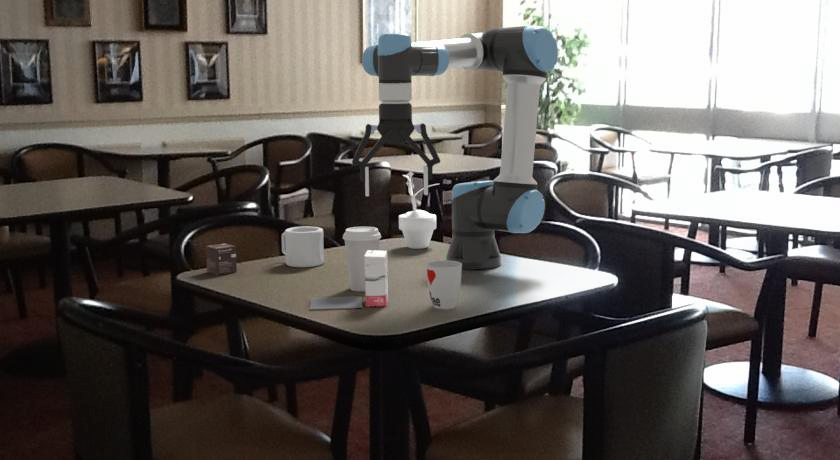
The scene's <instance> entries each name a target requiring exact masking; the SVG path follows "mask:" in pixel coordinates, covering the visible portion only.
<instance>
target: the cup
mask: <svg viewBox="0 0 840 460" xmlns="http://www.w3.org/2000/svg"><path fill="white" fill-rule="evenodd" d="M462 271H463V269H462V263H460V262H457V261H446V260H433V261H429V262H427V263H426V280H427V286H428V288H427V289H428V292H429V293H428V294H429V297H430V300H431V303H432V306H433V309H437V310H451V309H455V308H456V305H457V302H458V298H459V295H460V289H461V283H462Z"/></svg>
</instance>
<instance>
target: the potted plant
mask: <svg viewBox="0 0 840 460" xmlns="http://www.w3.org/2000/svg"><path fill="white" fill-rule="evenodd" d="M413 175H414V172H412V168H411V167H409V172H408V173H406V174H402V176H403V177H404V178H406V179H407V181H406V182H405V184H406V185H407V187H408V189H407V190H408V193H409V195H410V197H411V204H412V210H411V211H407V212H405V213H402V214H399V215H398V229H399V231H402V234H403V238H404V240H405V243H406V246H407V248H408V249H413V250H414V249H416V250H421V249H425V248H428V247H429V246H430V242H431V239H432V236H433V234H434V230H436V229H437V215H436V214H435V213H434V214H433V213H429V211H426V210H422V209H417V202H416V196H417V195H418V193H420V192H421V191H424V187H422V188H421V189H419V190H418V191H417V192H415V193H414V192H413V190H414V188H415V184H414V183H412V177H413ZM437 185H438V186H439V185H440V183H434V184H428V188H430V187H433V186H437Z"/></svg>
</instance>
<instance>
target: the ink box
mask: <svg viewBox="0 0 840 460" xmlns="http://www.w3.org/2000/svg"><path fill="white" fill-rule="evenodd" d="M364 259H365V291H364V294H365V306H366V307H367V308H368V307H369V308H370V307H371V306H372V307H374V306H376V307H387V303H388V299H389V279H388V277H389V275H388V273H389V271H388V269H389V267H388V266H389V265H388V264H389V263H388V250H380V249H379V250H367V252H366V254H365V258H364Z"/></svg>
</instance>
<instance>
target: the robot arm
mask: <svg viewBox="0 0 840 460" xmlns="http://www.w3.org/2000/svg"><path fill="white" fill-rule="evenodd" d="M558 50H559V49H558V44H557V41H556V39H555V37H554V35H553V33H552V32H551V31H550V30H549V29H548V28H546V27H544V26H538V25H525V26H523V25H521V26H511V27H509V26H508V27H496V28H490V29H486V30H482V31H478V32H477V31H476V32H472V33H465V34H463V35H461V36H460V37H459V38H457V37H456V38H449V39H447V38H446V39H435V40H424V41H413V42H412V37H411V35H410V34H409V33H381V35H379V37H378V41H377V44H374V45H373V44H372V45H369V46H367V47H366V49H364V51H363V53H362V56H361V60H362V61H361V62H362V63H361V64H362V67H363V70H364V72H366V73H367V74H368V75H370V76H372V77H377V78H378V101H380V102H381V103H379V105H378V124H377V125H375V124H370V123H367V124H366V125H365V129H364V134H363V137H362V139H361V141H360V143H359V145H358V147H357V149H356V152H355V154H354V156H353V158H352V160H351V162H352V165H354V166H357V167H359V176H360V177H359V180H360V181H361V182H364V187H365V188H364V189H365V197H370V181H369V180H370V177H369V171H370V170H369V166H367V165H368V163H369V162H370V161H371V160H372V158H373V157H374V156H376V153H377V152H378V151H379V150H380V149H381V147H382V146H383V145H384V144H385V143H387V144H391V145H392V144H405V143H408V144H409V145H410V147H411V148H412V149H413V151H415V152H416V154H417V155H418V156H419V157H420V158H421V159H422V161H423V162H424V163H425V164H426V165H423V188H424V189H423V195H424V196H428V195H429V187H428V186H429V181H432V180H433V167H434V166H435V165H438V164H440V163H441V159H440V156H439V155H438V153H437V151H436V149H435V146H434V145H433V143H432V141H431V139H430V137H429V135H428V133H427V126H426V124H425V123H423V122H422V123H420V124H413V105H412V104H411V103H410V102H411V101H412V100H413V99H412V98H413V97H412V94H413V93H412V91H413V90H412V89H413V88H412V87H413V86H412V82H413V81H412V79H413V78H412V77H413V76H414V77H422V76H423V77H427V76H428V77H434V76H440V75H442V74H444V73H445V72H446V71H447V70H450V69H458V68H463V69H464V70H466V71H476V70H478V71H481V70H482V71H490V72H492V71H493V72H502V74H501V75H502V76H501V77H502V78H503V80H504V81H505V82H506V86H507V87H506V98H505V110H504V119H503V120H504V122H503V133H502V134H503V135H502V145H501V156H500V157H501V158H500V169H499V174H498V176H496V177H495V178H494V179H493V180H490V179H489V180H477V181H469V182H461V183H457V184H454V186H453V187H452V192H451V225H452V226H451V229H452V232H451V233H452V237H451V241H450V244H449V246H448V248H447V249H448V250H447V254H446V256H445V257H446V258H445V261H457V262H460V263H462V270H464V269H465V270H485V269H493V268H497V267H499V266H500V265H501V264H502V258H501V257H502V256H501V253H500V250H499V247H498V243H497V240H496V238H495V231H500V232H508V233H511V234H527V233H531V232H532V231H535V229H536V228H537V227H538V225H540V223H541V221H542V220H543V217H544V213H545V209H546V201H545V199H544V196H543V194H542V193H541V192H540V191H539V190H538V181H536V179H534V178H533V173H534V161H535V149H536V148H535V147H536V137H537V127H538V113H539V102H540V91H541V86H542V85H543V83H544V82H545V81H546V80H547V77H548V76H547V75H548V72H551V71H552V70H553V69H554V68H555V66H556V64H557V63H558V59H559V58H558V57H559V51H558ZM376 131H377V132H378V133H379V135H380V137H379V139H378V140H377V142H376V143H375V144H374V146H373V147H372V148H370V151H368V152H367V154H366V155H365V156H364V157H363V158H362V160H360V158H361V157H362V154H363V153H364V151H365V148H366V146H367V144H368V141H369V139H370V138H371V135H374V133H375V132H376ZM414 131H416V133H418V134H420V135H421V138H422V140H423V142H424V144H425V146H426V147H427V149H428V151H429V153H430V155H431V157H432V159H430V158H429V157H428V155H426V154H425V152H424V151H423V150H422V149H421V147H419V145H418V144H417V143H416V142H415V141H414V139H413V138H412V137H411V135H412V134H413V132H414Z"/></svg>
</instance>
